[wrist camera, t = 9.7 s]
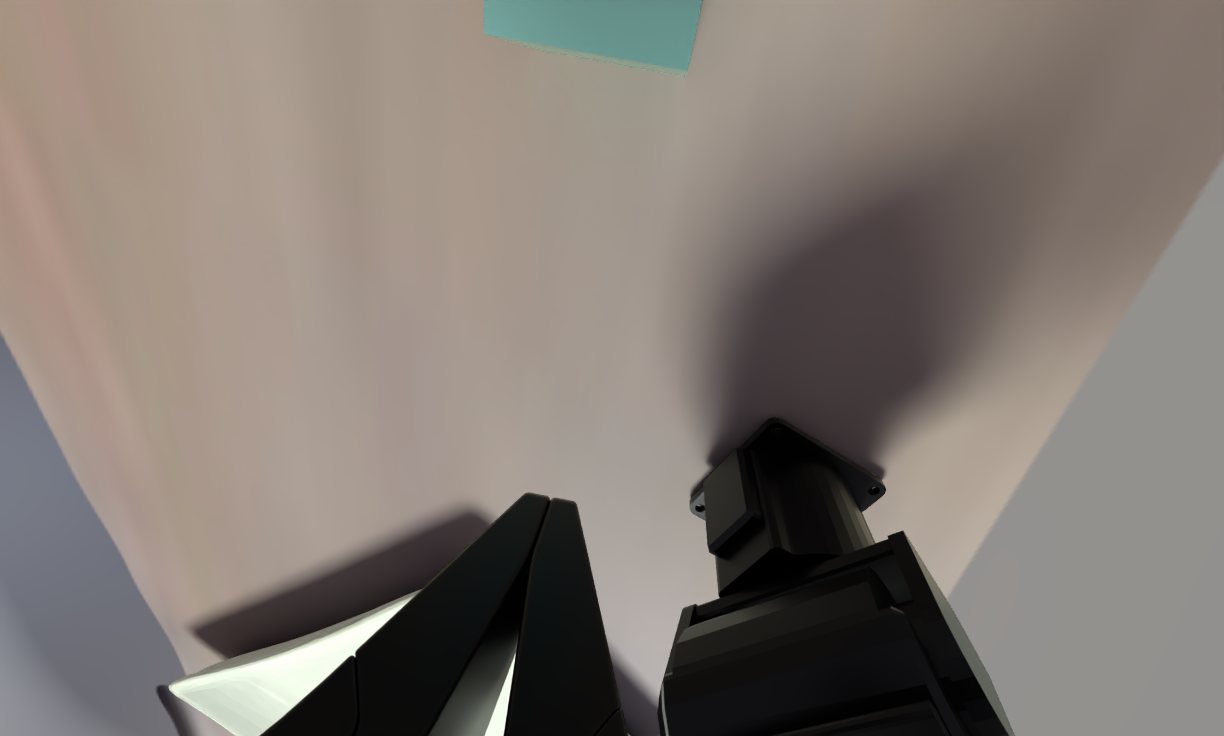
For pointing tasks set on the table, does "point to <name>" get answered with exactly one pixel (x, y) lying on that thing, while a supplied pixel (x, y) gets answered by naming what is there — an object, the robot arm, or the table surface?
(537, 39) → the cube
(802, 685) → the robot arm
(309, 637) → the square plate
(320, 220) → the table surface
